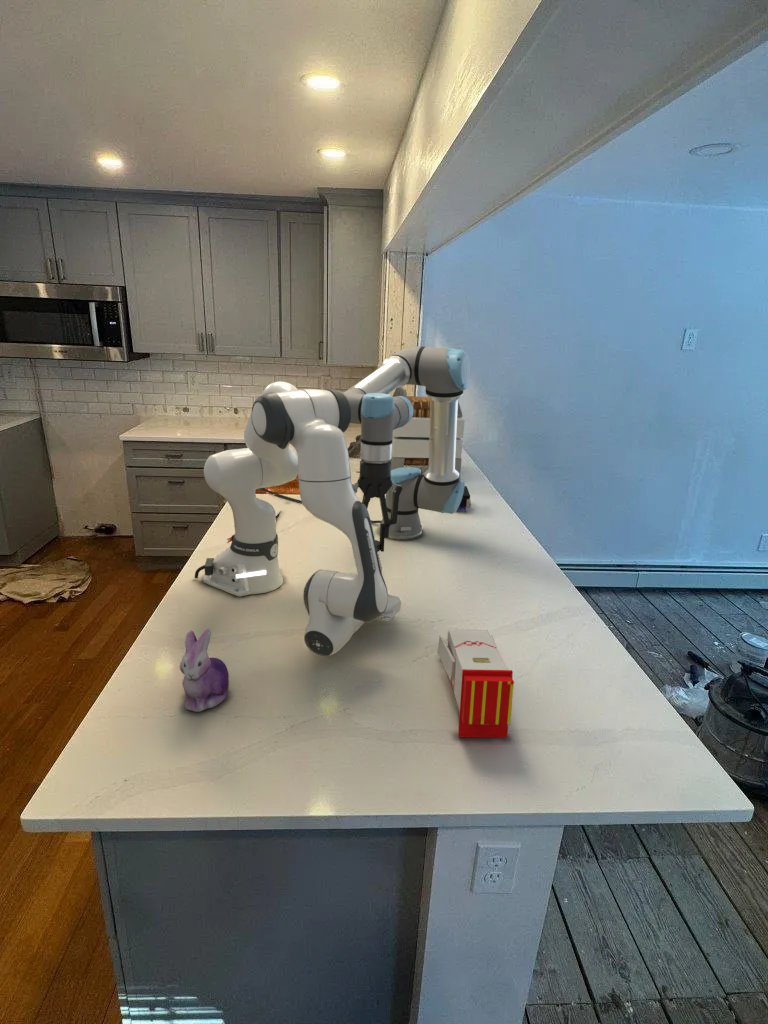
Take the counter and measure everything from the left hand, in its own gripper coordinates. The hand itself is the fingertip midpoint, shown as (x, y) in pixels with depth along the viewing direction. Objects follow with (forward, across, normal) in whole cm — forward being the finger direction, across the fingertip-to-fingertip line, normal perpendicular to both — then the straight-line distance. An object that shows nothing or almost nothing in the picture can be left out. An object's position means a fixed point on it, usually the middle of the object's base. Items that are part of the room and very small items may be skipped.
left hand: (371, 587), depth 148 cm
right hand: (-1, 0, -11) cm, 11 cm away
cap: (-1, 0, -13) cm, 13 cm away
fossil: (+151, +72, +6) cm, 167 cm away
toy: (-23, -32, +6) cm, 40 cm away
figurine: (-48, +15, +6) cm, 50 cm away
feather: (+49, +58, +6) cm, 77 cm away
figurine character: (+91, 0, +6) cm, 91 cm away
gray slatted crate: (+131, +30, +6) cm, 135 cm away
